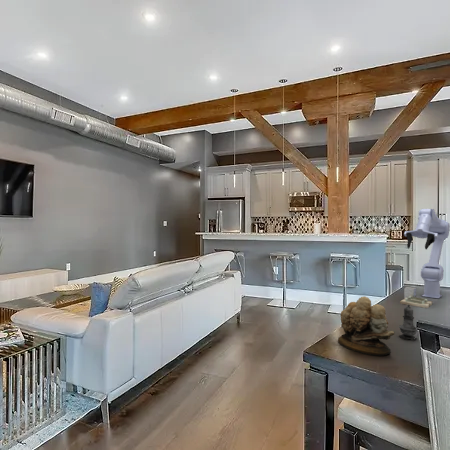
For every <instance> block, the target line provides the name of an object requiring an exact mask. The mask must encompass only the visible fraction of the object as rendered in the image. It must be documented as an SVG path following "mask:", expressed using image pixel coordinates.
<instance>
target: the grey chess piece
mask: <svg viewBox="0 0 450 450" xmlns="http://www.w3.org/2000/svg"><path fill="white" fill-rule="evenodd" d="M402 318H403V321H402V322H403V323H402V324H400V325H399V326H398V327H399V330H400V332H401V333H402V334H400V335H399V338H400V339H402V340H406V339H414V338H415V337H416V336H415V335H416V334H417V332H418V330H417V329H418V328H417V327H416V326H415V325H414V319H415V317H414V309H413V307H411V305H409V304H408V305H406V306H405V307H404V308H403V315H402ZM416 328H417V329H416Z"/></svg>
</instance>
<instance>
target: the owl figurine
mask: <svg viewBox="0 0 450 450" xmlns="http://www.w3.org/2000/svg"><path fill="white" fill-rule="evenodd" d="M340 321H341V322H340V323H341V324H340V325H341V328H342V329H343V332H344V333H343V334H342V335H341V336H339V337H338V338H337V342H338V344H339V346H341V347H343V348H346V349H348V350H350V351H352V352H355V353H359V354H363V355H367V356H375V357H382V356H387V355H389V354H390V353H391V348H390V346H388V344H386V343H385V342H383V341H382V340H385V341H387V340H390V339H391V337H392V336H394V335H395V332H394V330H387V329H388V328H389V322H388V319H387V316H386V308H385V307H384V306H383V305H381V304H377V303H376V304H373V305H372V300H371V299H370V298H369V297H367V296H361V297H359V298H358V299H357V300H356V301H351V302H349V303H348V304H347V305H346V306H345V308H344V309H343V310H341V312H340Z"/></svg>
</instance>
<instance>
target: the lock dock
mask: <svg viewBox="0 0 450 450" xmlns="http://www.w3.org/2000/svg"><path fill="white" fill-rule="evenodd" d="M399 304H400V305H406V306H408V304H409V305H410V306H413V307H419V308H424V309H428V308H430V307H431V306H432V305H433V304H434V302H433V301H431V300H428V298H423V297H417V296H416V297H411V296H409V297H408V298H405V299H402V300H400V301H399Z"/></svg>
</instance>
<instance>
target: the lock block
mask: <svg viewBox="0 0 450 450" xmlns="http://www.w3.org/2000/svg"><path fill="white" fill-rule="evenodd" d="M403 289H404V290H403V291H404V292H403V294H404V295H403V296H404V297H403V298H404V299H405V298H408V297H409V296H411V297H417V287H411V286H405V287H404V288H403Z"/></svg>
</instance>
